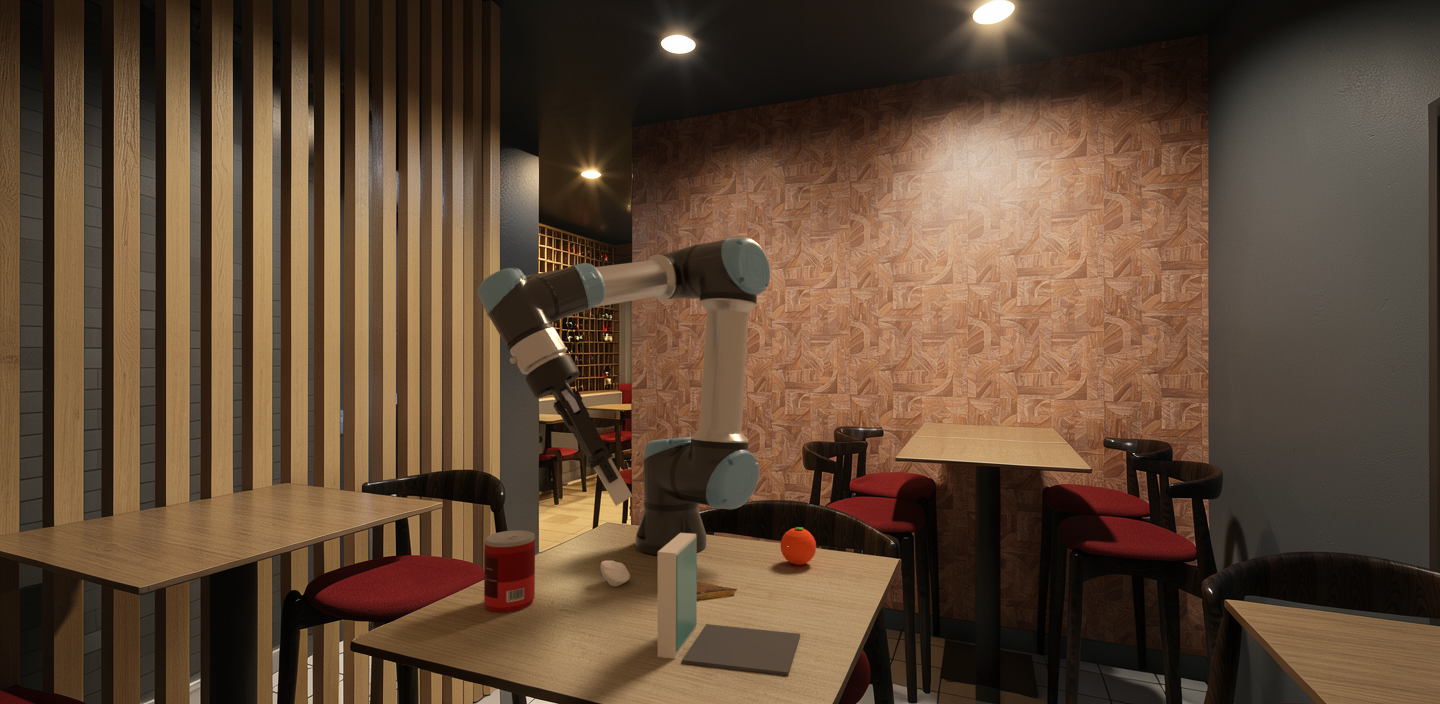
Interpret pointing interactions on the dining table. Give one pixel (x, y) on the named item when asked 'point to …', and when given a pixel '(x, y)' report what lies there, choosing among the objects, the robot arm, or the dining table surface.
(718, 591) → the shard
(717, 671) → the dining table surface
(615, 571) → the dumpling
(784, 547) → the clementine
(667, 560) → the glazed tile
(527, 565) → the canned food
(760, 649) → the rubber mat
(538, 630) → the dining table surface
